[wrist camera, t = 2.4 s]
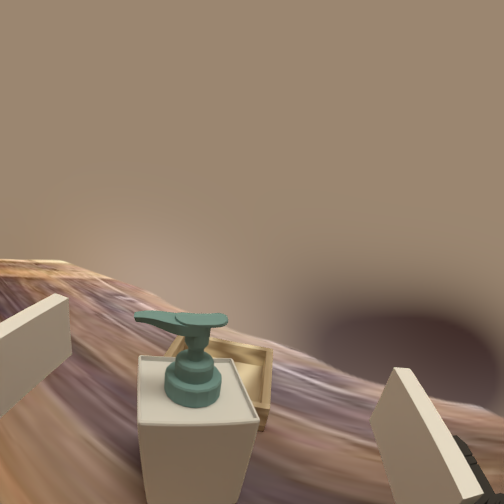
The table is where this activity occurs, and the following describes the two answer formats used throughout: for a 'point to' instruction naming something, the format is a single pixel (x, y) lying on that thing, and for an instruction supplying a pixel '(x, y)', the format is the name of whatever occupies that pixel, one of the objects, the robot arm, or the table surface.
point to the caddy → (241, 368)
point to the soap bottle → (192, 417)
